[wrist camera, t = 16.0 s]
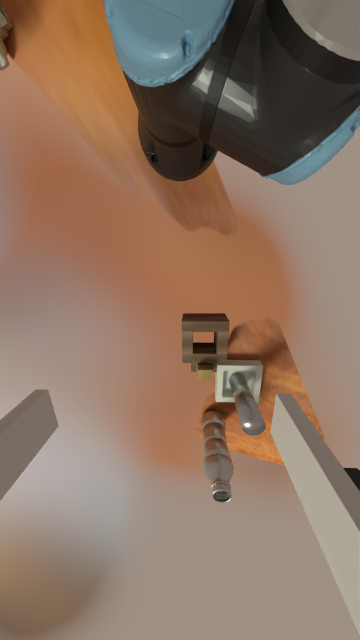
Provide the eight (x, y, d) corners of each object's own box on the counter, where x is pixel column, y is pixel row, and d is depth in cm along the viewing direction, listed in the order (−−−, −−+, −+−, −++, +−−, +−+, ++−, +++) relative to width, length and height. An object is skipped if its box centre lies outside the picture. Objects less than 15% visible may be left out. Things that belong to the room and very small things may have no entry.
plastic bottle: (226, 422, 57) (242, 505, 38) (203, 426, 58) (208, 509, 39) (221, 405, 55) (236, 482, 36) (197, 409, 56) (200, 487, 37)
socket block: (183, 313, 48) (181, 321, 42) (224, 313, 47) (229, 321, 41) (183, 360, 52) (182, 373, 46) (222, 361, 51) (225, 374, 45)
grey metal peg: (228, 372, 51) (243, 417, 37) (246, 372, 51) (266, 417, 37) (227, 386, 53) (241, 435, 38) (244, 387, 52) (264, 435, 38)
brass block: (197, 352, 50) (198, 369, 43) (209, 352, 50) (212, 370, 42) (197, 360, 51) (198, 379, 43) (208, 361, 51) (211, 379, 43)
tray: (216, 359, 51) (217, 365, 48) (259, 360, 50) (263, 366, 48) (214, 394, 54) (215, 401, 52) (255, 395, 54) (258, 402, 51)
